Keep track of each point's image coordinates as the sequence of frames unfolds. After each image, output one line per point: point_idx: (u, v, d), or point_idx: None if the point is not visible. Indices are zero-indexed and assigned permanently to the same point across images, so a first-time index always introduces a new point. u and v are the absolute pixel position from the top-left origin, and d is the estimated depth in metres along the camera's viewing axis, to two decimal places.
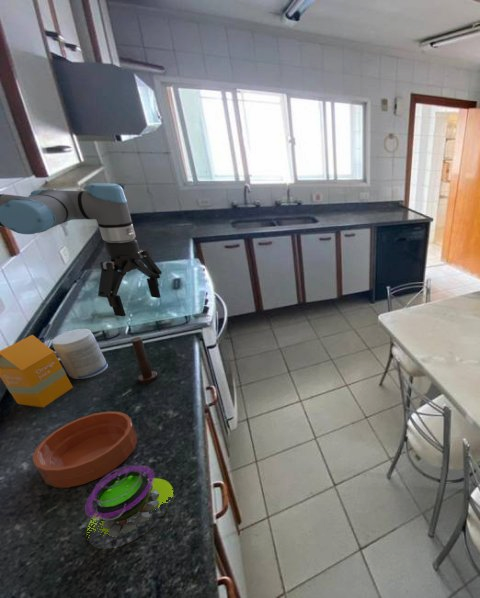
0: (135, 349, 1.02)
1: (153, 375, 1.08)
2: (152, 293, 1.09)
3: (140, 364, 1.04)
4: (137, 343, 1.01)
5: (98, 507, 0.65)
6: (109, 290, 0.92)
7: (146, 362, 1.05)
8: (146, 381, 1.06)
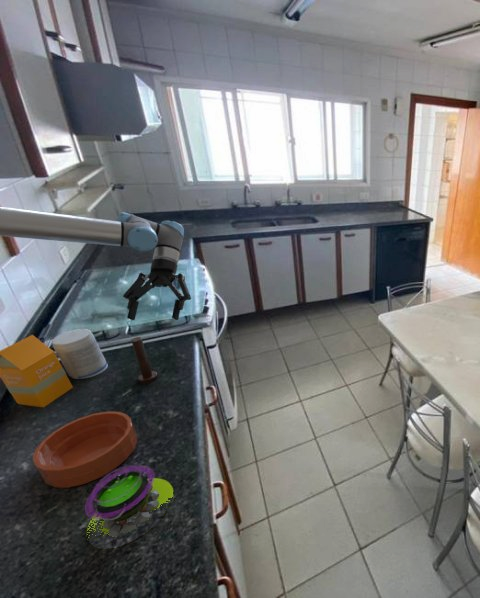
0: (135, 349, 1.02)
1: (153, 375, 1.08)
2: (131, 314, 1.09)
3: (140, 364, 1.04)
4: (137, 343, 1.01)
5: (98, 507, 0.65)
6: None
7: (146, 362, 1.05)
8: (146, 381, 1.06)
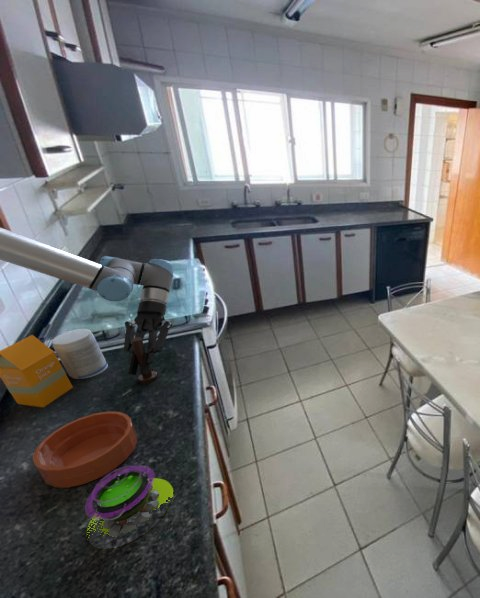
0: (135, 349, 1.02)
1: (153, 375, 1.08)
2: (133, 369, 1.02)
3: (140, 364, 1.04)
4: (137, 343, 1.01)
5: (98, 507, 0.65)
6: None
7: None
8: (146, 381, 1.06)
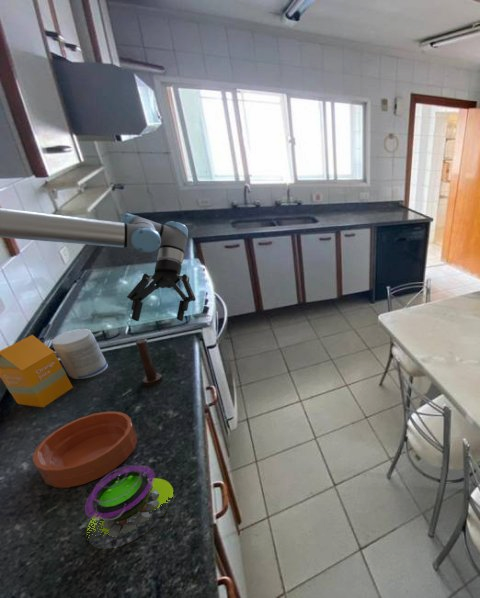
0: (140, 351, 1.01)
1: (157, 377, 1.07)
2: (136, 315, 1.09)
3: (145, 366, 1.04)
4: (142, 345, 1.01)
5: (98, 507, 0.65)
6: None
7: (150, 364, 1.04)
8: (151, 383, 1.05)
